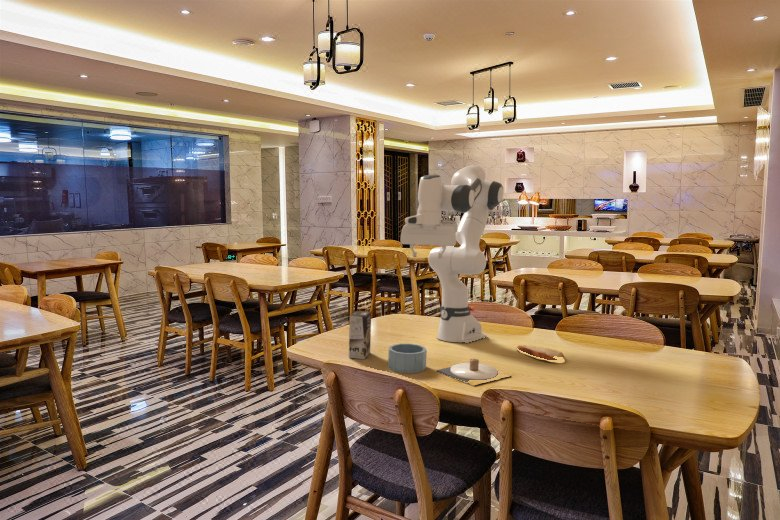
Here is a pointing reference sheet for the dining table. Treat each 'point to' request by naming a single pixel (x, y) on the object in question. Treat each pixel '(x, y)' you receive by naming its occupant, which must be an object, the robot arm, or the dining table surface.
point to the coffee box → (360, 334)
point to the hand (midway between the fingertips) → (427, 257)
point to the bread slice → (540, 352)
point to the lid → (473, 371)
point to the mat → (447, 372)
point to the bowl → (407, 358)
